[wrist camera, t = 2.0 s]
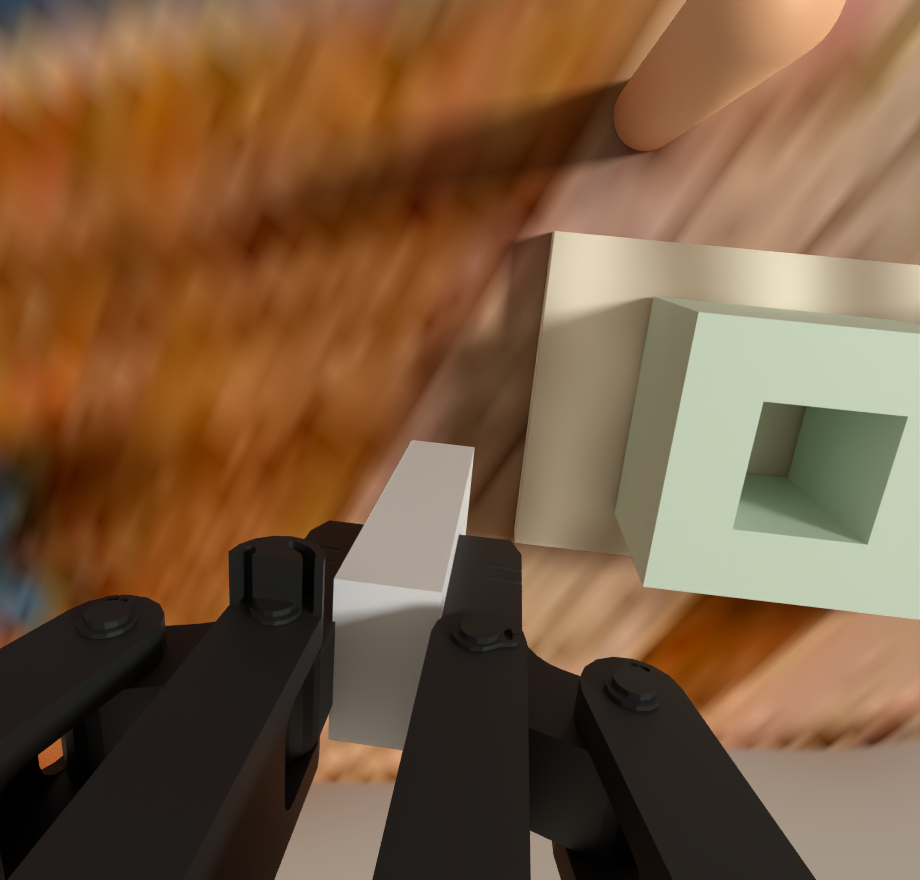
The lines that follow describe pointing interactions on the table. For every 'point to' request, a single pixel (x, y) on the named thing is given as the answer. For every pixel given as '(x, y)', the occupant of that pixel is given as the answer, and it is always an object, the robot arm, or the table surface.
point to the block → (812, 469)
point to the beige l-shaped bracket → (621, 351)
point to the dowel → (714, 62)
